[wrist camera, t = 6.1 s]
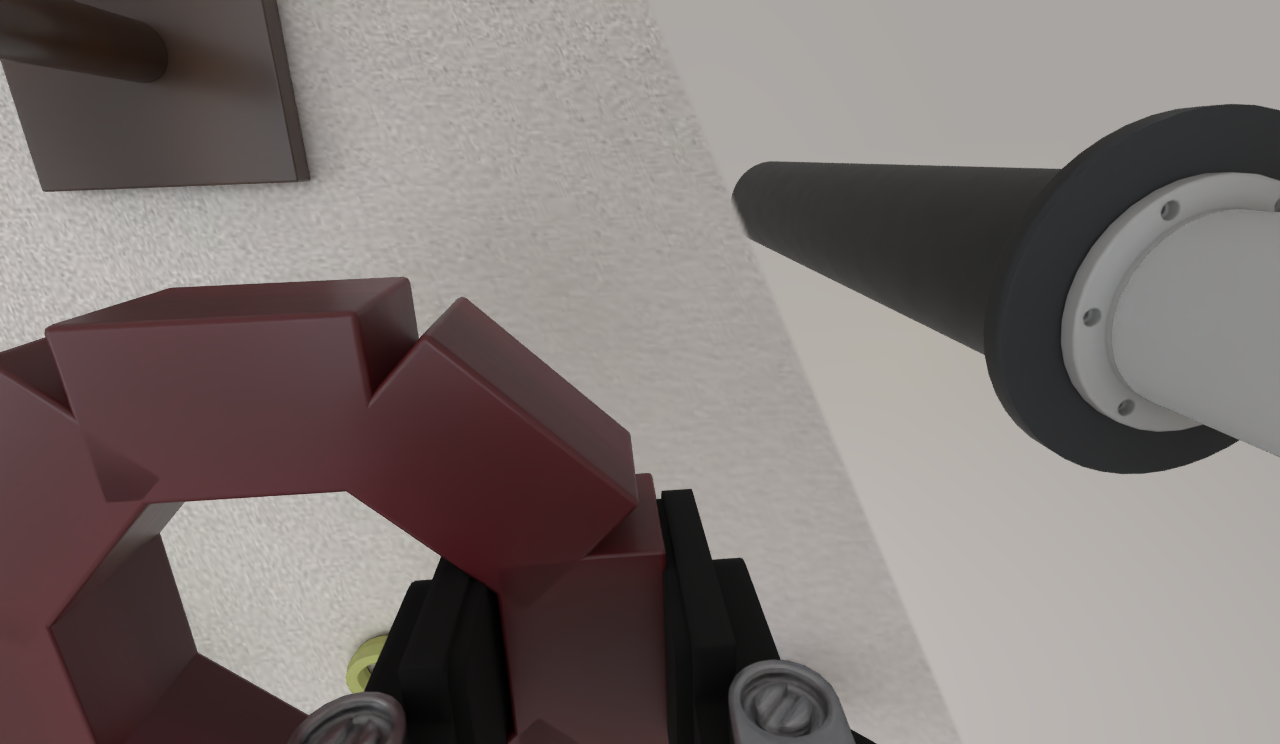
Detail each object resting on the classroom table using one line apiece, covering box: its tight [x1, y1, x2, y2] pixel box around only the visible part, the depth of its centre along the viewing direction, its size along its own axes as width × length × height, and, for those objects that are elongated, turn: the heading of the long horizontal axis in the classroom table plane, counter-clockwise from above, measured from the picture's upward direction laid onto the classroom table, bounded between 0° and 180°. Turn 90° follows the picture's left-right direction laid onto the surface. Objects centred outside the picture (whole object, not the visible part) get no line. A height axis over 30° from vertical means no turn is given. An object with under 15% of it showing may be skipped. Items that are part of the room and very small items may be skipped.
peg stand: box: [0, 0, 310, 192], centre depth 18 cm, size 9×9×11 cm
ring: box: [0, 277, 669, 744], centre depth 10 cm, size 11×11×2 cm
